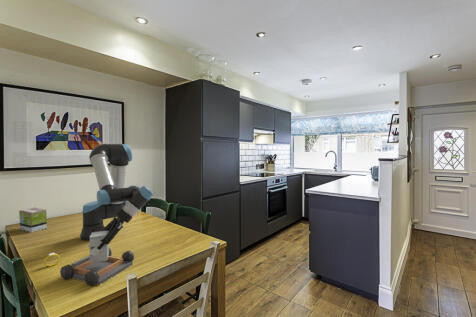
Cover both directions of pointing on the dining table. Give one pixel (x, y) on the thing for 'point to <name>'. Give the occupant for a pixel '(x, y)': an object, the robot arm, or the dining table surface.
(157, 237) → the dining table surface
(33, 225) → the tea box
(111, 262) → the toy car chassis
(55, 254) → the watch
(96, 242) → the supplement box
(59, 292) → the dining table surface
